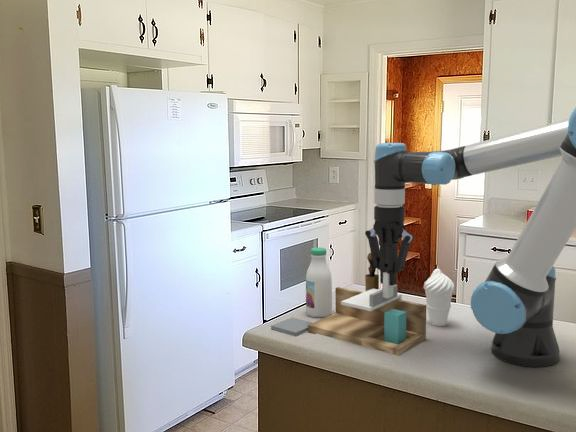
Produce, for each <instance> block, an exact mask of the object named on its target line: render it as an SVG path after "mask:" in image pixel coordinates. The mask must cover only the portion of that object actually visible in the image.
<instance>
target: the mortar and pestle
mask: <svg viewBox="0 0 576 432" xmlns="http://www.w3.org/2000/svg"><path fill="white" fill-rule="evenodd" d="M366 258H367V261H368V263H369V267H367V268H368V274H365V279H364V280H365V292H366V291H368V290H371V289H378V290H380V287H379V286H380V285H379V283H380V282H379V281H380V279H379V277H380V275H379V274H376V270H377V268H374V266H373V261H372V256H371V252H369V253H368V254H367V256H366Z"/></svg>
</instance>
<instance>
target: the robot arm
mask: <svg viewBox="0 0 576 432" xmlns="http://www.w3.org/2000/svg"><path fill="white" fill-rule="evenodd" d="M374 153H375V154H374V160H373V163H374V188H373V189H374V197H373V199H374V200H373V203H374V204H375V206H374V208H373V209H374V211H373V220H374V223H373V225H372V226H373V227H372V228H370V229H369V230H366V231H365V233H364V234H365V236H366V238H367V241H368V246H369V248H370V253H371V256H372V261H373V266H374V268H376V270H377V269H378V270H379V273H380V275H379V277H380V279H379V281H380V282H379V283H380V285H381V284H382V289H383V298H390V297H392V296H393V285H397V273H399V272H401V271H403V270H404V269H405V266H406V261H407V256H408V254H409V251H410V250H409V249H410V245H411V243H412V241H413V240H414V238H415V236H414V234H413V233H412V234H410V233H409V232H407V231H406V227H405V224H404V223H405V215H406V213H405V212H406V210H405V206H403V205H405V203H406V201H405V200H406V183H410V184H411V183H412V184H422V185H431V186H440V185H443V186H444V185H448V184H450V183H451V181H453V180H454V181H455V180H460V179H464V178H467V177H471V176H475V175H479V174H486V173H489V172H493V171H499V170H503V169H508V168H512V167H516V166H522V165H527V164H531V163H535V162H536V163H537V162H539V161H545V160H549V159H553V158H554V159H555V158H558V157H562V159H561V161H560V163H559V165H558V167H557V169H556V170H555V171H554V174H553V175H552V177H551V178H550V181H549V182H548V184H547V186H546V188H545V190H544V191H543V193H542V195H541V196H540V198H539V200H538V201H537V204H536V205H535V207H534V209H533V210H532V213H531V215H530V216H529V217H528V220H527V221H526V223H525V225H524V227H523V228H522V230H521V232H520V234H519V236H518V237H517V239H516V241H515V243H514V245H513V247H512V248H511V250H510V252H509V254H508V255H507V257H504V258H503V257H502V258H499V259H497V260H496V262H495V263H494V265H493V267H492V269H491V270H490V272H489V274H488V275H487V278H486V279H485V280H484V282H481V283H480V284H478V285H477V286H476V287H475V289H474V290H473V292H472V294H471V296H470V297H471V298H470V308H471V311H472V313H473V315H474V318H475V319H476V321H477V322H478V323H479V324H480V325H481V326H482V327H483V328H485V329H486V330H487V331H489V332H492V333H494V335H493V337H492V340H491V350H490V351H491V353H492V355H493V356H494V357H496V358H497V359H499V360H501V361H503V362H506V363H509V364H513V365H517V366H523V367H532V368H534V367H535V368H542V367H548V366H549V367H550V366H552V365H553V366H554V365H555V364H557V363H558V362H559V361H560V352H561V351H560V347H559V344H558V340H557V337H556V333H555V329H554V326H553V325H554V309H555V294H556V293H555V292H556V291H555V290H556V282H557V281H556V280H557V277H556V268H555V267H554V265H555V263H556V261H557V260H558V259H559V256H560V255H561V253H562V251H563V250H564V248H565V246H566V245H567V243H568V242H569V240H570V238H571V236H572V235H573V234H574V232H575V230H576V107H575V108H574V109H573V110H572V112H571V114H570V116H569V118H568V119H564V120H559V121H557V122H556V121H555V122H552V123H547V124H543V125H541V126H540V125H539V126H537V127H533V128H528V129H526V130H521V131H518V132H513V133H509V134H506V135H503V136H502V135H501V136H497V137H494V138H490V139H486V140H483V141H479V142H475V143H471V144H468V145H464V146H459V147H455V148H450V149H446V150H434V151H409V150H408V151H407V145H406V144H405V143H404V142H403V143H402V142H382V143H381V142H379V143H377V144H376V146H375V152H374ZM400 240H401V243H400ZM399 244H400V246H399Z"/></svg>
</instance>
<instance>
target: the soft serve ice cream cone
mask: <svg viewBox="0 0 576 432" xmlns="http://www.w3.org/2000/svg"><path fill="white" fill-rule="evenodd" d="M423 284H424V285H423V286H422V287H423V289H424V291H425V292H424V293H425V296H426V297H425V300H426V302H425V303H426V304H425V305H426V310H427V314H428V319H429V324H430V325H432V326H434V327H435V326H436V327H444V326H446V325H447V322H448V318H449V313H450V310H451V307H452V305H451V302H452V297H453V291H454V290H455V283H454V282H453V280H451V278H449V277H448V276H447V275H446V274H445V273H444V272H442V270H441V269H440V268H435V269H434V270H433V271H432V273H431V275H430V276H429V277H428V278H427V280H425V281H424V283H423Z"/></svg>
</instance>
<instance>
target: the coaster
mask: <svg viewBox="0 0 576 432" xmlns="http://www.w3.org/2000/svg"><path fill="white" fill-rule="evenodd" d="M311 323H313V321H308V320H305V319H304V320H303V319H300V318H297V317H293V316H292V317H289V318H287V319H284V320H281V321H278V322H277V323H274V324H272V325H270V328H271V330H274V331H277V332H280V333H284V334H287V335H291V336H294V337H298V336H301V335H302V334H304V333H306V332H308V325H309V324H311Z"/></svg>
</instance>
